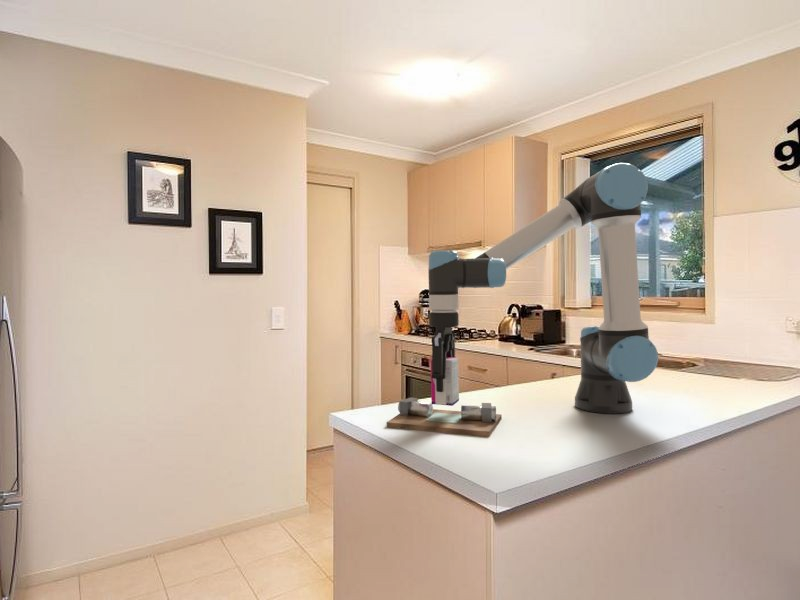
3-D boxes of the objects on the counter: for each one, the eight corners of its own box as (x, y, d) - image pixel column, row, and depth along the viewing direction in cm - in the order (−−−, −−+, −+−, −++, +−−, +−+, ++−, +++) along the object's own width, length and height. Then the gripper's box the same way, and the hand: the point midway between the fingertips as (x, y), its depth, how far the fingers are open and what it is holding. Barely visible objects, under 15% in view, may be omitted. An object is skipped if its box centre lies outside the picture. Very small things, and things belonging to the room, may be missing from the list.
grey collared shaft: (495, 417, 127) (495, 403, 127) (496, 423, 122) (496, 408, 122) (462, 416, 129) (461, 402, 128) (461, 422, 123) (460, 407, 123)
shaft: (434, 414, 131) (434, 400, 131) (424, 419, 127) (424, 404, 127) (407, 410, 136) (406, 396, 136) (396, 415, 132) (396, 400, 132)
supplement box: (459, 400, 129) (458, 356, 128) (452, 406, 124) (451, 360, 123) (438, 398, 131) (437, 355, 131) (430, 404, 126) (429, 359, 125)
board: (501, 419, 130) (501, 413, 130) (489, 436, 115) (489, 430, 115) (408, 411, 140) (408, 406, 140) (386, 427, 125) (386, 421, 125)
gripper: (440, 309, 137) (441, 392, 138) (417, 313, 119) (418, 408, 120) (466, 309, 134) (467, 394, 135) (447, 313, 117) (448, 411, 117)
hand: (444, 401), depth 127 cm, fingers closed on supplement box, 6 cm apart
